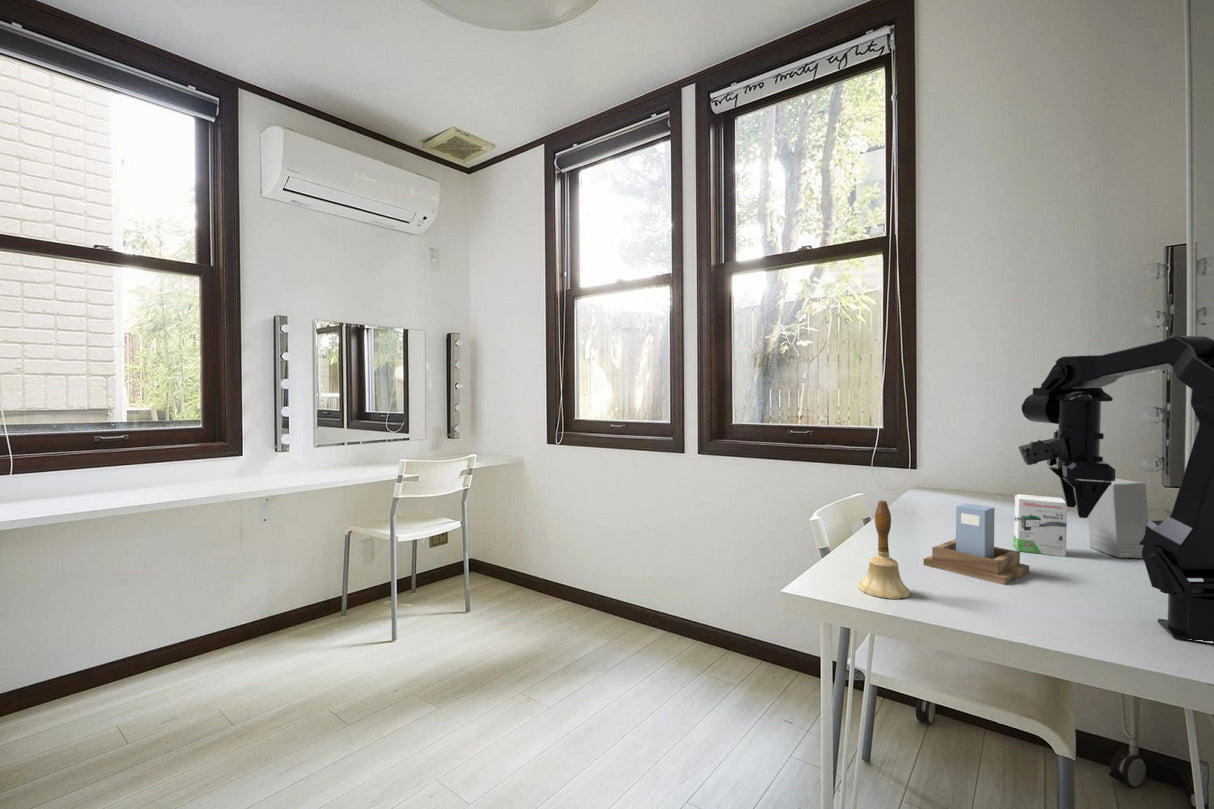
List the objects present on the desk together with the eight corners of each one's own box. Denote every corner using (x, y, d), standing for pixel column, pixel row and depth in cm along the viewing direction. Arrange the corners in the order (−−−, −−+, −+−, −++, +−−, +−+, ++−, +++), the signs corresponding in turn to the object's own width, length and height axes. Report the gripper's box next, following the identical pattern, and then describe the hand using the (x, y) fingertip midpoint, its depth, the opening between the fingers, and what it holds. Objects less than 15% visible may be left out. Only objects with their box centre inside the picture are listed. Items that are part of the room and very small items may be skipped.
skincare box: (1151, 559, 113) (1153, 483, 112) (1112, 558, 114) (1113, 482, 113) (1120, 548, 121) (1121, 476, 121) (1083, 547, 122) (1084, 476, 122)
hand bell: (870, 599, 93) (871, 506, 92) (850, 582, 101) (850, 496, 101) (920, 599, 93) (921, 506, 92) (895, 582, 101) (896, 496, 101)
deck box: (984, 567, 105) (984, 510, 105) (955, 561, 109) (956, 506, 109) (994, 563, 108) (994, 507, 107) (965, 556, 112) (966, 503, 112)
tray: (1004, 584, 99) (1004, 564, 99) (923, 564, 111) (923, 546, 111) (1029, 571, 106) (1029, 552, 106) (950, 554, 118) (950, 537, 118)
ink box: (1016, 551, 119) (1017, 497, 119) (1013, 545, 124) (1013, 493, 123) (1067, 557, 115) (1068, 501, 115) (1062, 551, 119) (1062, 497, 119)
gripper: (1016, 421, 110) (1014, 498, 111) (1031, 428, 94) (1029, 518, 95) (1088, 423, 105) (1085, 503, 105) (1117, 431, 89) (1114, 526, 89)
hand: (1076, 512), depth 99 cm, fingers open, 9 cm apart
